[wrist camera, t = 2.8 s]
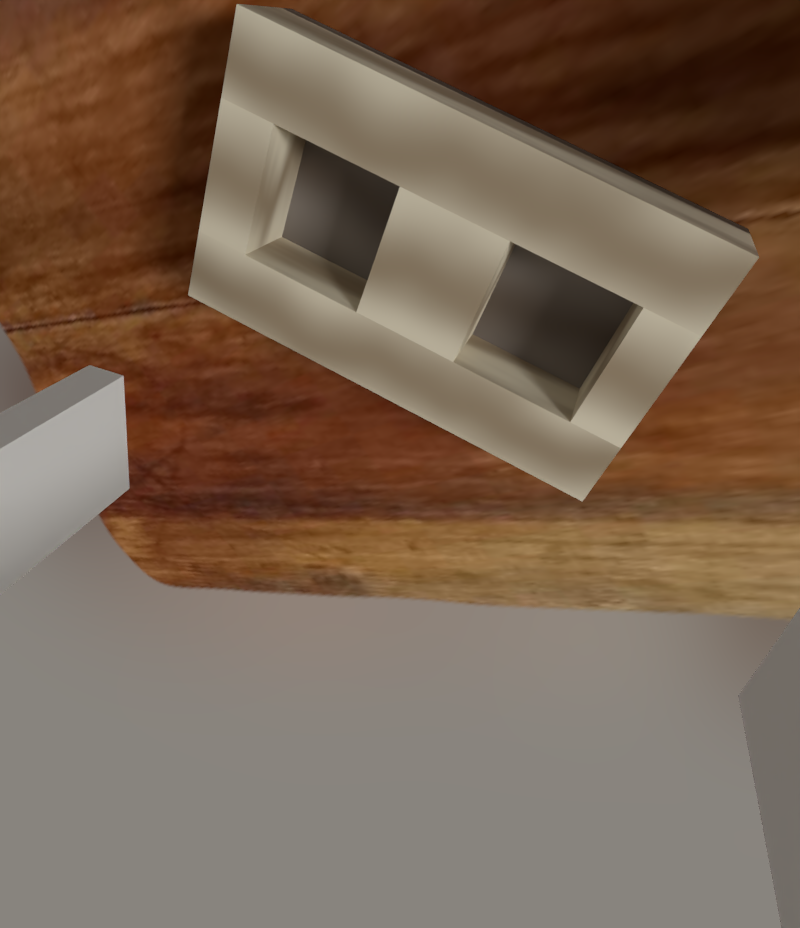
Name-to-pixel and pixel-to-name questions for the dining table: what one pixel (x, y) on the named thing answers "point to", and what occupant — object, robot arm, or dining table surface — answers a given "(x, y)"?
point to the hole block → (450, 250)
